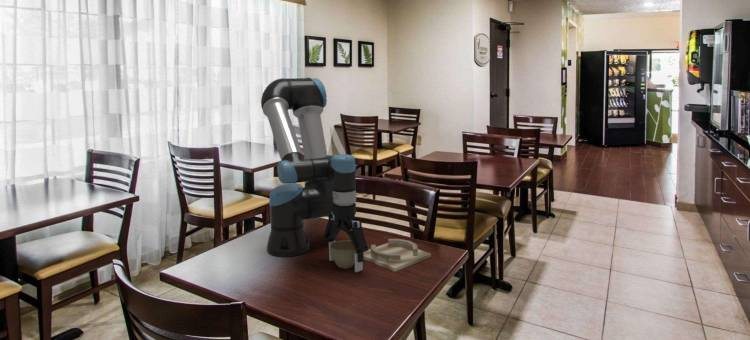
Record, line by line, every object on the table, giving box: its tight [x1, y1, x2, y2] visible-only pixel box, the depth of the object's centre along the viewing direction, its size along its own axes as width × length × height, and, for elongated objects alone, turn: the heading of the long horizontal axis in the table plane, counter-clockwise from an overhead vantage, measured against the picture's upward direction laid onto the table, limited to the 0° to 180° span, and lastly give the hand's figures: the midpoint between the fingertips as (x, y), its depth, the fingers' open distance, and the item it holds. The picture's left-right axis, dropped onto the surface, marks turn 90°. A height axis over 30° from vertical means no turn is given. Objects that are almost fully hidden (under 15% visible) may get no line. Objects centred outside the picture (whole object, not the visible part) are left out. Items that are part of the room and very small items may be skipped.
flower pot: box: [330, 239, 356, 269], centre depth 163 cm, size 10×10×7 cm
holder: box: [363, 238, 432, 273], centre depth 171 cm, size 18×18×4 cm
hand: (345, 265), depth 164 cm, fingers open, 12 cm apart
